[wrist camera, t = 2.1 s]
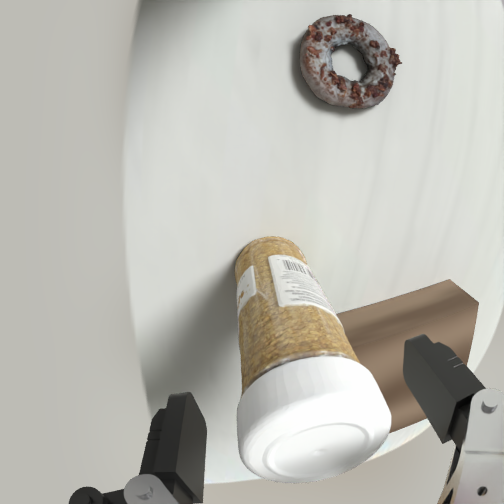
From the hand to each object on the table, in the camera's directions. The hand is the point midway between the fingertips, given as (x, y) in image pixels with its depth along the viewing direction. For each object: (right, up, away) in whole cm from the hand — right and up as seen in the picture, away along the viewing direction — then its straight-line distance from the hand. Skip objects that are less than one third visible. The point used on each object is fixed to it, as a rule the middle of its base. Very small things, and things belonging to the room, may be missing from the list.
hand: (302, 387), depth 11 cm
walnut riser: (+9, -4, +13) cm, 16 cm away
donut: (+3, +17, +6) cm, 18 cm away
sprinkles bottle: (-1, +4, +10) cm, 10 cm away
